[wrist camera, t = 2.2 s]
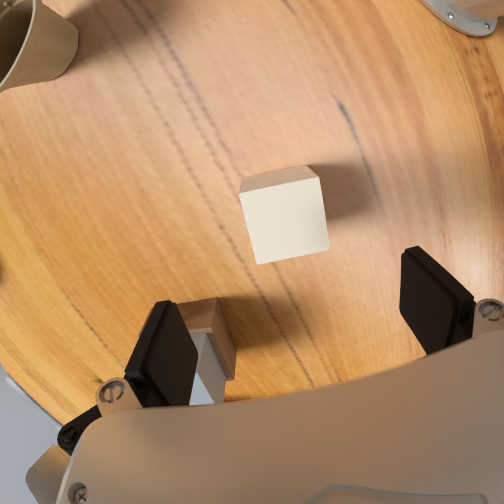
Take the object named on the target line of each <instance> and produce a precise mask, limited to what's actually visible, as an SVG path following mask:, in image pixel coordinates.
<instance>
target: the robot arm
mask: <svg viewBox="0 0 504 504" xmlns="http://www.w3.org/2000/svg"><path fill="white" fill-rule="evenodd" d="M420 1H421V2H422V3H423V4H424V5H425V6H426V7H427V8H428V9H429V10H430V11H431V12H432V13H433V14H434V15H436V16H437V17H438V18H439V19H440V20H442V21H443V22H444V23H446V24H447V25H449V26H450V27H452V28H453V29H455V30H457V31H459V32H461V33H463V34H466V35H469V36H475V37H479V36H485V35H488V34H491V33H492V32H493V31H494V30H495V27H496V25H497V19H498V17H499V16H504V0H420ZM399 309H400V313H401V315H402V317H403V318H404V320H405V321H406V323H407V324H408V326H409V327H410V329H411V330H412V332H413V333H414V335H415V336H416V338H417V339H418V341H419V343H420V344H421V346H422V347H423V349H424V351H425V352H426V354H427V355H426V356H423V357H421V358H418V359H415V360H412V361H410V362H407V363H404V364H401V365H398V366H395V367H392V368H388V369H385V370H382V371H379V372H375V373H372V374H369V375H365V376H361V377H358V378H354V379H350V380H346V381H343V382H339V383H334V384H330V385H326V386H322V387H317V388H312V389H308V390H303V391H298V392H292V393H287V394H281V395H275V396H269V397H262V398H256V399H248V400H241V401H232V402H223V403H212V404H199V405H189V404H190V399H191V393H192V388H193V383H194V378H195V373H196V368H197V363H198V351H197V348H196V346H195V344H194V342H193V340H192V338H191V336H190V333H189V331H188V329H187V327H186V325H185V323H184V320H183V318H182V316H181V314H180V312H179V309H178V307H177V305H176V303H172V302H171V301H170V300H166V301H160V302H156V304H155V305H154V308H153V310H152V312H151V314H150V316H149V318H148V320H147V322H146V324H145V326H144V329H143V331H142V333H141V335H140V337H139V339H138V342H137V344H136V346H135V348H134V351H133V353H132V355H131V357H130V360H129V362H128V364H127V366H126V369H125V371H124V372H125V376H124V378H118V377H116V378H112V379H109V380H107V381H106V382H104V383H103V384H102V385H101V386H100V387H99V388H98V390H97V392H96V396H95V397H96V402H97V405H95V406H94V407H92V408H91V409H89V410H87V411H86V412H84V413H83V414H81V415H80V416H78V417H77V418H75V419H73V420H72V421H70V422H69V423H67V424H66V425H64V426H63V427H62V429H61V430H60V432H59V434H58V438H57V440H58V445H57V446H55V445H54V444H53V445H52V446H51V447H50V448H49V449H48V450H47V451H46V452H45V453H44V454H43V455H42V456H41V457H40V459H39V460H38V461H37V462H36V463H35V464H34V465H33V466H32V467H31V468H30V469H29V470H28V472H27V474H26V483H27V486H28V487H29V489H30V491H31V492H32V494H33V495H34V497H35V499H36V500H37V502H38V503H39V504H504V304H503V303H502V302H500V301H498V300H495V299H483V300H481V301H479V302H478V303H476V302H475V301H474V296H473V295H472V294H471V293H470V292H469V291H468V290H467V289H466V288H465V287H464V286H463V285H462V284H460V283H459V282H458V281H457V280H456V279H455V278H454V277H453V276H452V275H451V274H450V273H449V272H448V271H447V270H445V269H444V268H443V267H442V266H441V265H440V264H439V263H438V262H437V261H435V260H434V259H433V258H432V257H431V256H430V255H429V254H427V253H426V252H425V251H424V250H423V249H422V248H420V247H419V246H415V247H411V248H407V249H405V251H404V253H402V255H401V286H400V304H399Z"/></svg>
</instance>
